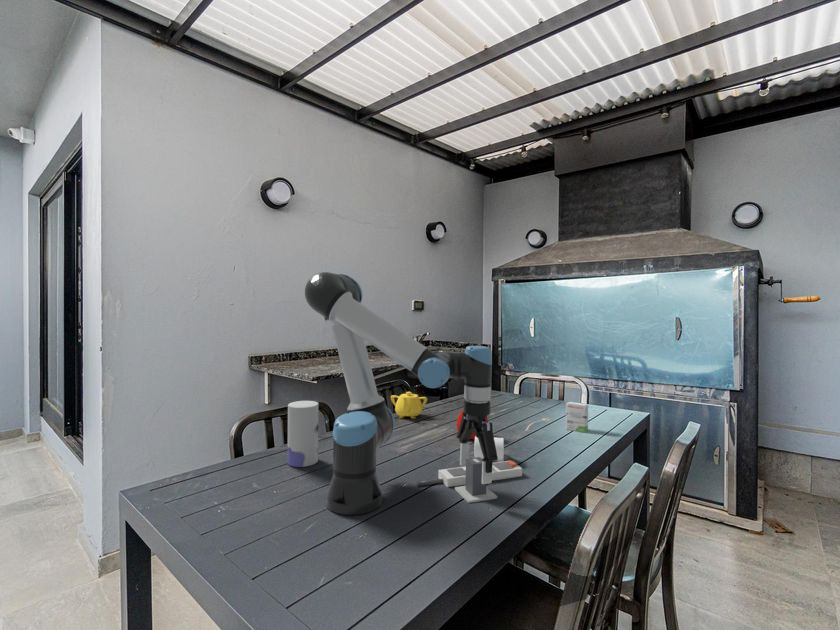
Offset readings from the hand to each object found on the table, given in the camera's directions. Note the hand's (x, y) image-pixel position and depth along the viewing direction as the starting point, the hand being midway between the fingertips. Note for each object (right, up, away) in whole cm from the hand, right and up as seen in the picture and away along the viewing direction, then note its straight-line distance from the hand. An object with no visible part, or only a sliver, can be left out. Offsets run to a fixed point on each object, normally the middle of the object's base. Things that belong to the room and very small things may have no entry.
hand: (474, 473), depth 120 cm
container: (-56, -5, +22) cm, 60 cm away
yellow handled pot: (-22, -4, +80) cm, 83 cm away
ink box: (+53, -5, +64) cm, 84 cm away
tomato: (+6, -5, +52) cm, 53 cm away
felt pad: (0, -6, 0) cm, 6 cm away
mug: (+9, -6, +29) cm, 31 cm away
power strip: (-1, -6, +10) cm, 12 cm away
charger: (0, -5, 0) cm, 5 cm away
